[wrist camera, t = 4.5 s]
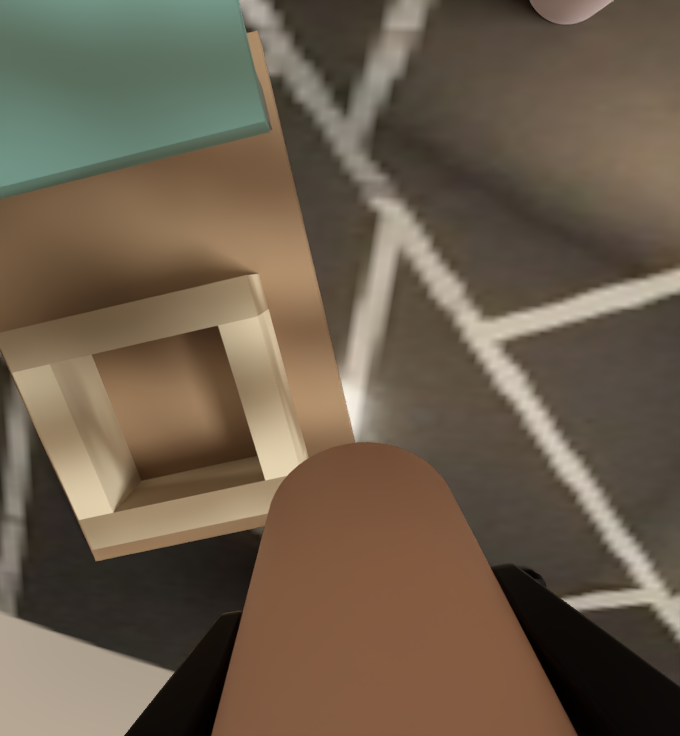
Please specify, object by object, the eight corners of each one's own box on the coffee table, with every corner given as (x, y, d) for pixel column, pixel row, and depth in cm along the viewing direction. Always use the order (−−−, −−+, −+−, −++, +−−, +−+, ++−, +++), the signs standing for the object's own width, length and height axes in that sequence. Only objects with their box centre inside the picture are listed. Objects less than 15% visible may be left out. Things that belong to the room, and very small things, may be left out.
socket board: (367, 493, 20) (385, 615, 13) (107, 547, 21) (-10, 692, 14) (262, 45, 15) (200, -146, 8) (-77, 132, 16) (-409, 25, 9)
